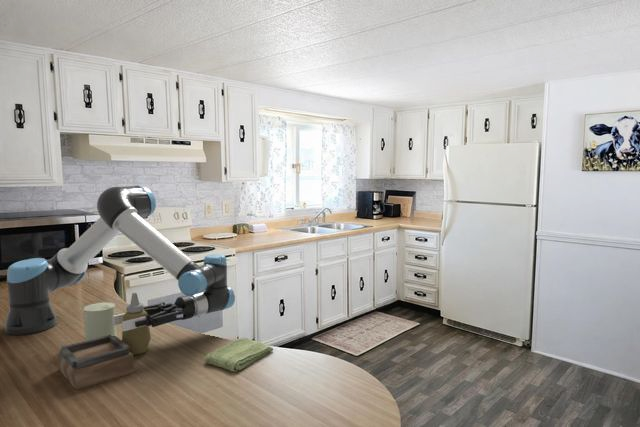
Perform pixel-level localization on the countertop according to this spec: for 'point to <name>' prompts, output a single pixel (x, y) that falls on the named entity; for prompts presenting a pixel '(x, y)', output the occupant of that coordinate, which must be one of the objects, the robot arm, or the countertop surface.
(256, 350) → the washcloth
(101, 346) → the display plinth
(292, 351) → the countertop surface
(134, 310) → the squeeze bottle
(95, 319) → the can
